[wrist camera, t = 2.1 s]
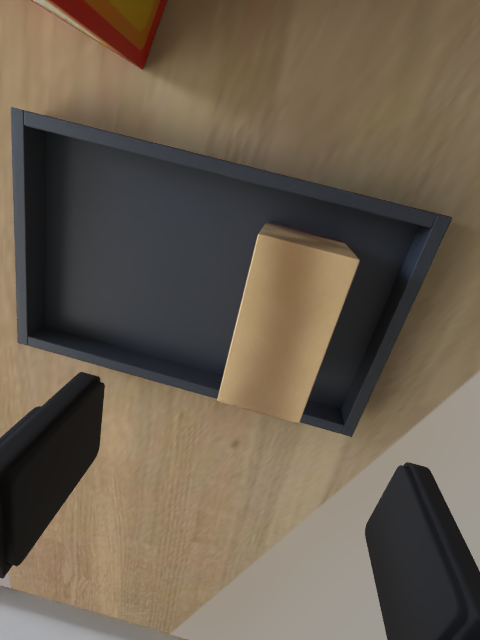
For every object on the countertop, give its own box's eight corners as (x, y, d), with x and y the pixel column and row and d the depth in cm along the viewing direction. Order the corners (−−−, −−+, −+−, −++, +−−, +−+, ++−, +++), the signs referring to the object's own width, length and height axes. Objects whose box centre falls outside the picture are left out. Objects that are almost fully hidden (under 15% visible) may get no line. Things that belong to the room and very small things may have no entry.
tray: (434, 213, 21) (452, 217, 19) (346, 414, 27) (351, 437, 25) (40, 115, 22) (10, 107, 20) (40, 329, 28) (17, 342, 26)
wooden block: (343, 240, 22) (360, 260, 16) (297, 372, 26) (298, 424, 20) (266, 220, 22) (257, 233, 16) (232, 354, 26) (216, 401, 20)
